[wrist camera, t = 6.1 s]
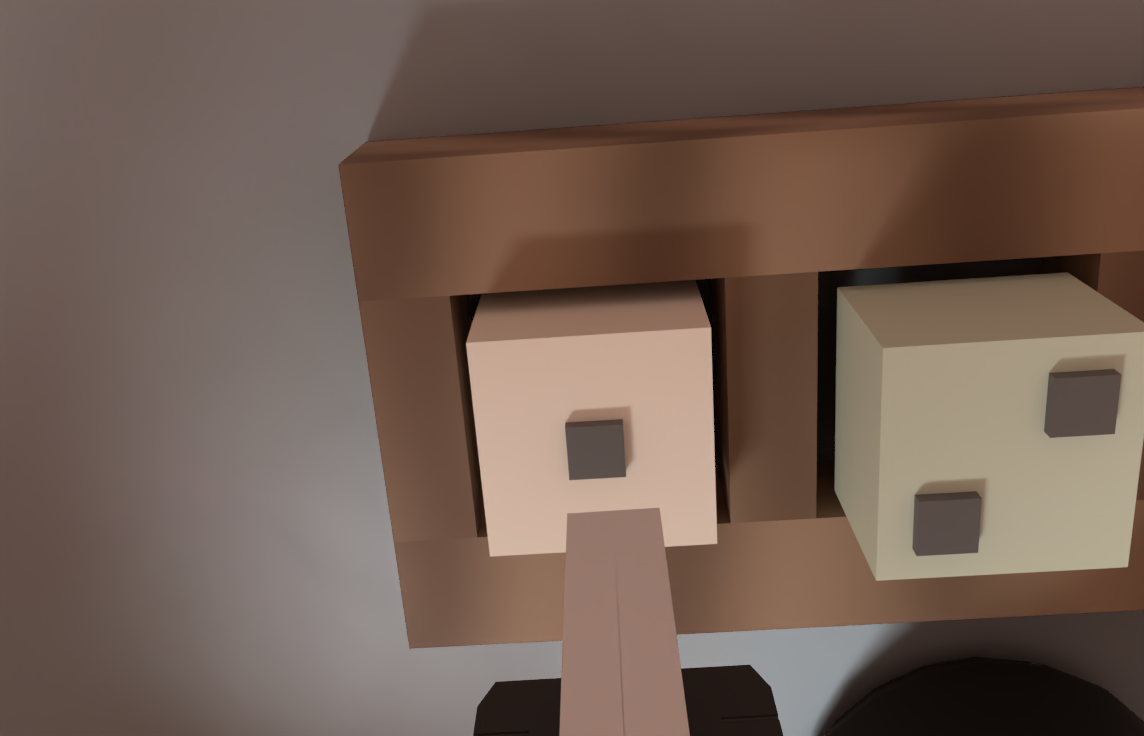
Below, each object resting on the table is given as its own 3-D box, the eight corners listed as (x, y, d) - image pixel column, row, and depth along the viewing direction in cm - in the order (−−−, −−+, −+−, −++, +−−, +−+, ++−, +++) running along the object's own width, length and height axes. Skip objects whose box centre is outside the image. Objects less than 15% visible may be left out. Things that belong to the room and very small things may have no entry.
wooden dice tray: (426, 583, 30) (409, 648, 27) (366, 142, 26) (338, 164, 23) (1402, 529, 29) (1490, 591, 26) (1505, 61, 25) (1623, 75, 22)
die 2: (834, 490, 26) (879, 589, 22) (837, 287, 24) (887, 353, 20) (1049, 478, 26) (1135, 575, 22) (1067, 272, 24) (1164, 336, 20)
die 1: (503, 475, 28) (488, 563, 24) (483, 287, 26) (463, 347, 22) (700, 464, 28) (718, 550, 24) (693, 273, 26) (712, 332, 22)
